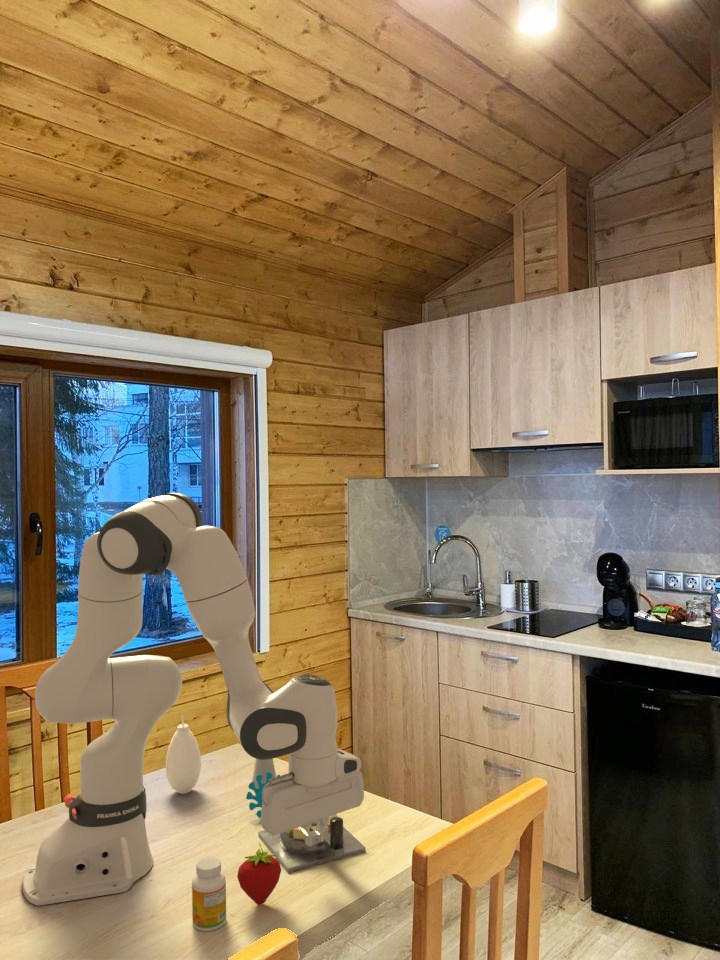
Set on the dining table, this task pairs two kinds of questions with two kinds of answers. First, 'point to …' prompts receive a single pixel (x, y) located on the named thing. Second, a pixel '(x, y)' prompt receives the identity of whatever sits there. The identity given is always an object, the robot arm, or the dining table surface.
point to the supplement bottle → (208, 895)
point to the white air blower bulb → (183, 760)
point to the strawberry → (259, 876)
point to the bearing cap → (306, 850)
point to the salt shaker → (263, 770)
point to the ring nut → (326, 835)
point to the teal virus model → (258, 792)
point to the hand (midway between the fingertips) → (314, 843)
